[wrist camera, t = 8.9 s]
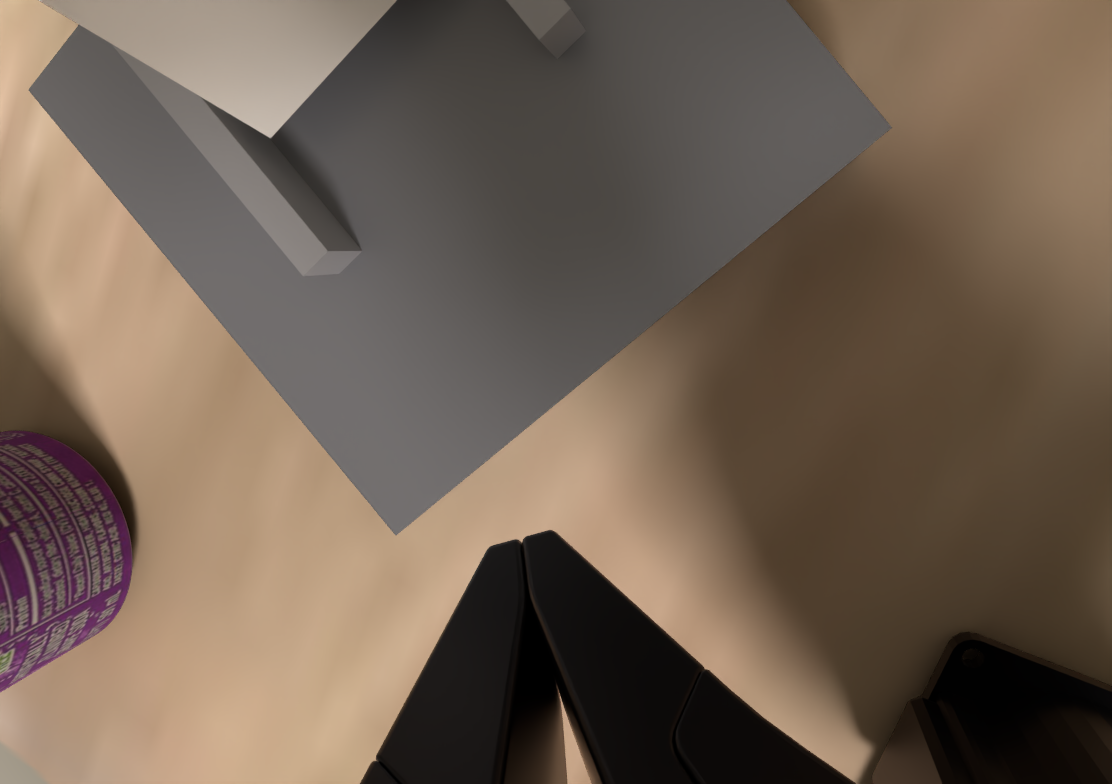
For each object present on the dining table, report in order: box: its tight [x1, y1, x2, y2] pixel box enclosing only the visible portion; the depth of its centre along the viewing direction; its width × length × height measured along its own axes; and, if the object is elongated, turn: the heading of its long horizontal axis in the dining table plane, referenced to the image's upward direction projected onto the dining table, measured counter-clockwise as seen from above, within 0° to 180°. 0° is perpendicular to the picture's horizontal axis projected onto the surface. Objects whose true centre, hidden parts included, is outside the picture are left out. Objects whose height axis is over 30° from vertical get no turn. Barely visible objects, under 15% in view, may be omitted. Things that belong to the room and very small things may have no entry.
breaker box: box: [29, 0, 892, 535], centre depth 18 cm, size 14×14×5 cm
